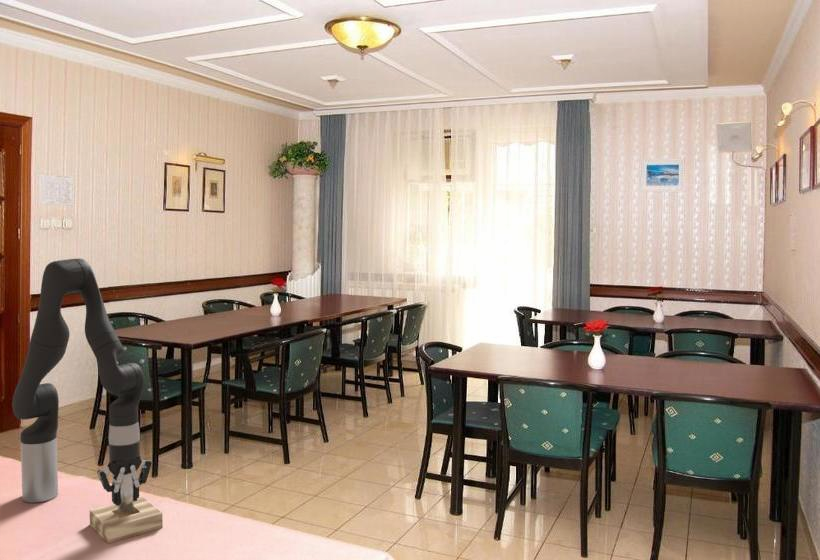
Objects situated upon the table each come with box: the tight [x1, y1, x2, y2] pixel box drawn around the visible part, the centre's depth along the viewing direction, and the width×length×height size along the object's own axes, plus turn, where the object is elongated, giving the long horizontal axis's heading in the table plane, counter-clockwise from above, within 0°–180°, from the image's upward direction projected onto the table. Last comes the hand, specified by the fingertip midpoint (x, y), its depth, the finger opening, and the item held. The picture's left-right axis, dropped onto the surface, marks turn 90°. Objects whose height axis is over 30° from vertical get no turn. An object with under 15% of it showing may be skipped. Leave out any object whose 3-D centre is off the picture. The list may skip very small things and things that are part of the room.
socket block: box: [89, 496, 164, 544], centre depth 182 cm, size 14×14×4 cm
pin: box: [118, 472, 134, 512], centre depth 181 cm, size 4×4×10 cm
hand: (125, 502), depth 182 cm, fingers closed on pin, 4 cm apart
